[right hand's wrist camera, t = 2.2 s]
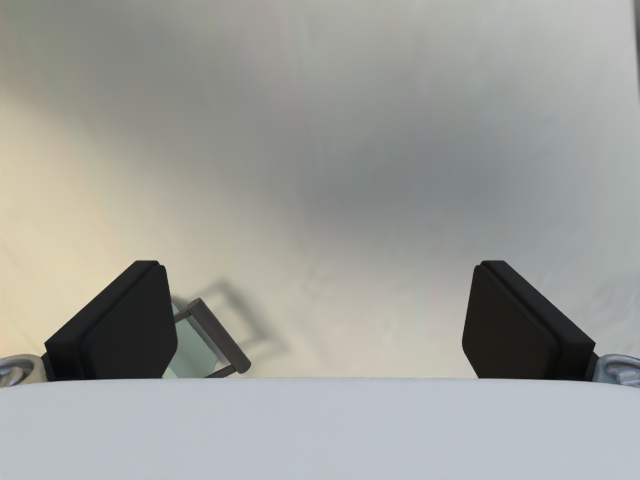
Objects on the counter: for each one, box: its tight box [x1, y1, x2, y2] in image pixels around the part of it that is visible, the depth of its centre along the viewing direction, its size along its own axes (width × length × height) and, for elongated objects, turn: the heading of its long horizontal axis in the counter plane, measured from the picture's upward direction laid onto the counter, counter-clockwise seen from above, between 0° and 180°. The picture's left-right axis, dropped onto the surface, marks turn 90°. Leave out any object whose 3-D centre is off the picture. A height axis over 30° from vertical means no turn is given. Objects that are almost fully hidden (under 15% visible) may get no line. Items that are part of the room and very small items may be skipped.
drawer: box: [161, 298, 251, 379], centre depth 35 cm, size 18×8×6 cm, turn 119°
